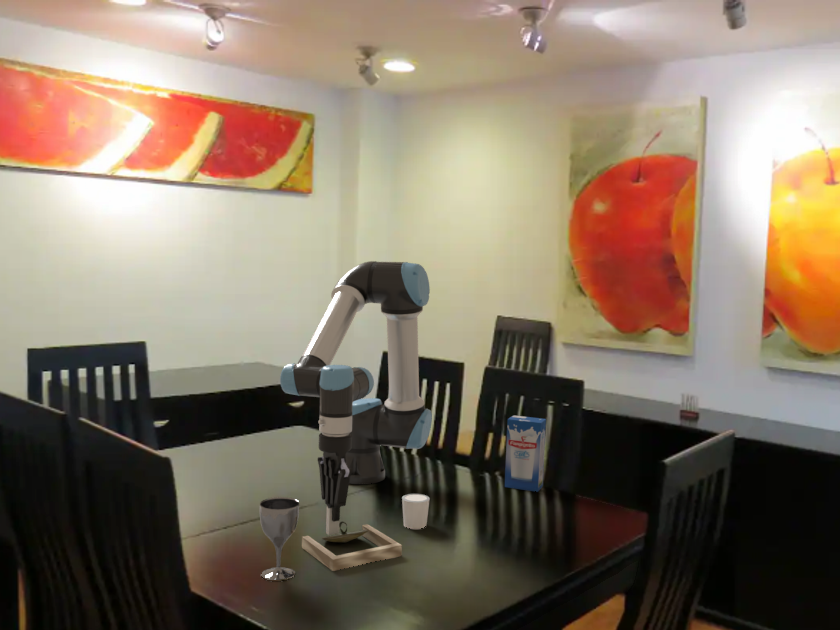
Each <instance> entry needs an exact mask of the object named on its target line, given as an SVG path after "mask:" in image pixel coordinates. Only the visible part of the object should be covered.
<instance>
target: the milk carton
mask: <svg viewBox="0 0 840 630" xmlns="http://www.w3.org/2000/svg"><path fill="white" fill-rule="evenodd" d="M506 426H507V427H506V445H505V446H506V448H505V449H506V450H505V451H506V452H505V469H504V488H508V489H515V490H516V489H517V490H522V491H530V492H535V491H536V493H538V492H539V491H540V490H541V489H542V488H543V487H544V471H545V470H544V469H545V468H544V467H545V449H546V429H547V428H546V426H547V419H546V418H541V417H540V418H539V417H532V416H531V417H530V416H523V415H521V416H520V415H512V416H510V417H509V418H507V425H506Z"/></svg>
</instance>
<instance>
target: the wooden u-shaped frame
mask: <svg viewBox="0 0 840 630" xmlns="http://www.w3.org/2000/svg"><path fill="white" fill-rule="evenodd" d="M361 530H368V532H366V533H365V534H363V535H362V536H361V537H363V538H365V539H366V540H368V541H369V542H371V543H373V544H374V545H376V546H377V547H371V548H366V549H362V550H357V551H353V552H348V553H342V554H338V555H335V553H333V552H332V551H331V550H329V549H328V548H326V547H324V546H323V545H322V544H321V543H319V542H318V541H316V540H315V539H314V538H312V537H311V536H309V535H304V536H303V535H302V536H301V548H302V549H303V550H304V551H306V552H307V553H308V554H310V555H311V556H312V557H314V558H315V559H316V560H317V561H319V562H320V563H321V564H323V565H324V566H325V567H327V568H328V569H329V570H330V571H332V572H335V571H341V570H345V569H349V567H350V568H354V567H358V565H359V566H362V564H363V565H366V563H368V564H371V563H370V562H372V563H376V562H375V561H377V562H381V561H385V559H386V560H389V559H395V558H398V557H402V551H403V550H402V547H403V544H401V543H399V542H397V541H396V540H394V539H393V538H391V537H389V536H388V535H386V534H385V533H383V532H381V531H380V530H378V529H376V528H375V527H373V526H371V525H369V524H368V523H367V524H362V525H361ZM380 560H381V561H380ZM353 566H354V567H353ZM344 568H345V569H344ZM340 569H341V570H340Z"/></svg>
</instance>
